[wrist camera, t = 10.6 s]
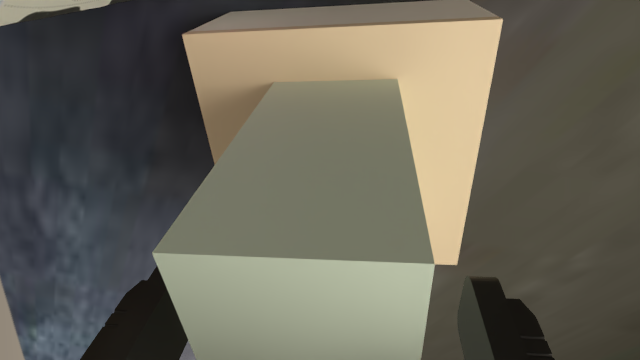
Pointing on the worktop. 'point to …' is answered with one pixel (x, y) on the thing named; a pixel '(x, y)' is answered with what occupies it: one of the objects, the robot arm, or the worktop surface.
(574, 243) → the worktop surface
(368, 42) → the podium
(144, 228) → the worktop surface
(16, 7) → the candy bar box
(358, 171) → the sage carton
